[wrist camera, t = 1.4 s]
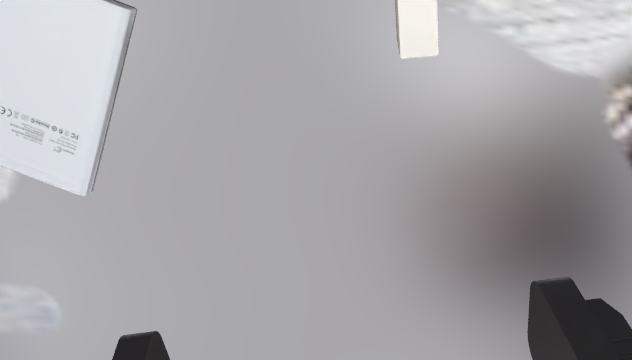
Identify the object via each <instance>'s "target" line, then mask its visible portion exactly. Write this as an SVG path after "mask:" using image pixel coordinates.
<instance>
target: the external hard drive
mask: <svg viewBox="0 0 632 360" xmlns="http://www.w3.org/2000/svg"><path fill="white" fill-rule="evenodd" d="M136 14H137V9H136V8H135V7H132V6H130V5H127V4H124V3H122V2H119V1H117V0H0V166H3V167H5V168H8V169H11V170H13V171H16V172H19V173H21V174H24V175H26V176H29V177H32V178H35V179H37V180H40V181H42V182H45V183H48V184H50V185H53V186H56V187H59V188H61V189H63V190H66V191H69V192H71V193H74V194H77V195H81V196H87V195H88V194H90V192H92V191H93V190H94V185H95V181H96V176H97V173H98V170H99V166H100V161H101V157H102V153H103V149H104V145H105V141H106V136H107V132H108V129H109V125H110V121H111V117H112V113H113V109H114V104H115V100H116V96H117V92H118V88H119V84H120V79H121V75H122V71H123V67H124V63H125V58H126V55H127V51H128V47H129V42H130V38H131V35H132V31H133V27H134V22H135V18H136Z"/></svg>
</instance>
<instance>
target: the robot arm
mask: <svg viewBox="0 0 632 360" xmlns="http://www.w3.org/2000/svg"><path fill="white" fill-rule="evenodd" d="M528 342H529V347H530V352H531V356H532V359H533V360H632V329H631V327H630V326H629V324H628V323H627V321H626V320H625V319H624V317H623V315H622V314H620V313H619V312H618V311H617V310H615V309H614V308H613V307H611V306H610V305H609V304H607V303H606V302H605V301H603V300H602V299H601V298H600V299H591V300H585V299H584V298H583V296H582V295H581V293H580V291H579V290H578V288H577V286H576V285H575V283H574V281H573V280H572V279H571V278H570V277H563V278H555V279H547V280H540V281H533V282H532V283H531V287H530V301H529V319H528ZM112 360H170V358H169V356H168V353H167V350H166V348H165V345H164V343H163V340H162V337H161V335H160V334H159V332H157V331H154V332H146V333H138V334H130V335H123V336H122V337H121V338H120V339H119V341H118V344H117V347H116V350H115V353H114V356H113V359H112Z"/></svg>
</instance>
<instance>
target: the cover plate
mask: <svg viewBox="0 0 632 360" xmlns="http://www.w3.org/2000/svg"><path fill="white" fill-rule="evenodd" d="M395 6H396V7H395V9H396V27H397V41H398V47H399V53H400V58H401V59H403V58H417V57H429V56H439V51H438V50H439V49H438V18H437V17H438V16H437V0H395Z"/></svg>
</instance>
